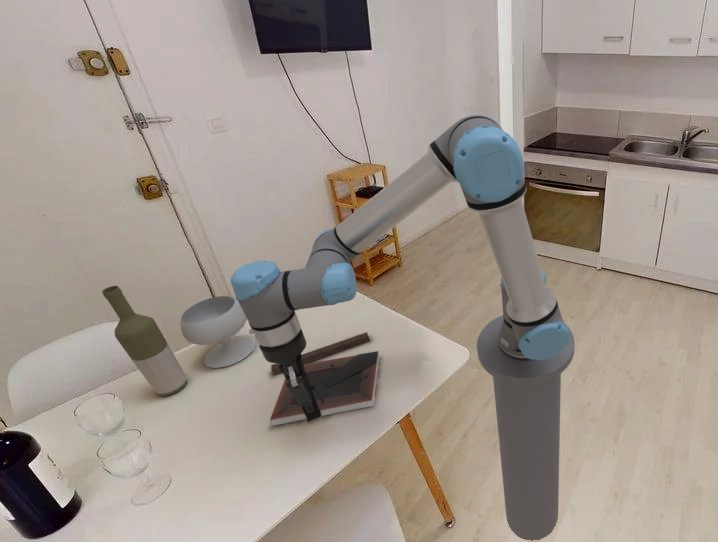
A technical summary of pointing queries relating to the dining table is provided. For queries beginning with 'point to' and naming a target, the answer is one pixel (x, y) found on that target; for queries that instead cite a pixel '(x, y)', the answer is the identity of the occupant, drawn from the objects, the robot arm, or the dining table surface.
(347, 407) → the picture frame
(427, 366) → the dining table surface
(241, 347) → the chalice
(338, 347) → the walnut rail
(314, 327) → the dining table surface
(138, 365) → the bottle
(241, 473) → the dining table surface
